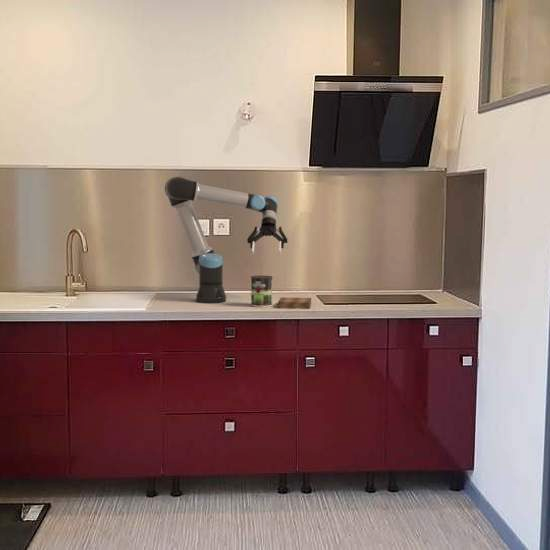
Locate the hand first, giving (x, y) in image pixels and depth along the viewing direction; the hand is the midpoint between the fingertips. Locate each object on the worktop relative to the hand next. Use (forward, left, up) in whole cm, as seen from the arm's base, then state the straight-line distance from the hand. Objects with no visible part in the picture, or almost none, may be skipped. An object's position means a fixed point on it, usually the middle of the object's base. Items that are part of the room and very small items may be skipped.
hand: (266, 252), depth 358 cm
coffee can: (-1, -13, -25) cm, 28 cm away
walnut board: (+15, -13, -24) cm, 32 cm away
